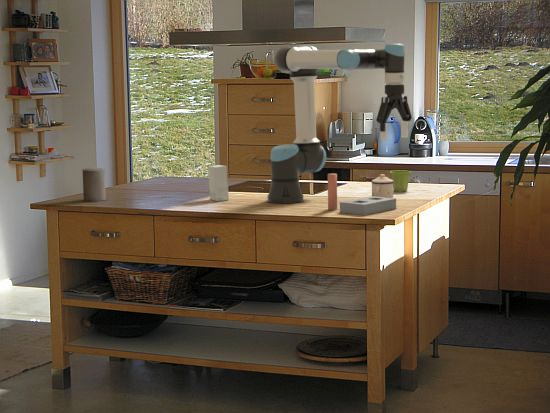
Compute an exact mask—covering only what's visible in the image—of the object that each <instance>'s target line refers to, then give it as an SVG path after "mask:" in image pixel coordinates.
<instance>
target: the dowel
mask: <svg viewBox="0 0 550 413" xmlns="http://www.w3.org/2000/svg"><path fill="white" fill-rule="evenodd" d="M327 210H329V211H337V210H338V174H337V173H327Z"/></svg>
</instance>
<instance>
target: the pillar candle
mask: <svg viewBox="0 0 550 413" xmlns="http://www.w3.org/2000/svg"><path fill="white" fill-rule="evenodd" d="M105 170H106V169H105V168H103V167H94V166H92V167H88V168H83V169H82V190H83V201H84V202H91V201H94V202H102V200H103V201H105V200H106V198H107V197H106V196H107V195H106V173H105Z"/></svg>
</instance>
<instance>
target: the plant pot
mask: <svg viewBox="0 0 550 413" xmlns="http://www.w3.org/2000/svg"><path fill="white" fill-rule="evenodd" d="M389 173H390V176H391V180H393V182H394V183H393V192H402V193H403V192H407V191H408V189H409V188H408V187H409V179H410V176H411V173H412V171H410V170H403V169H402V170H391V171H389Z"/></svg>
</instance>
